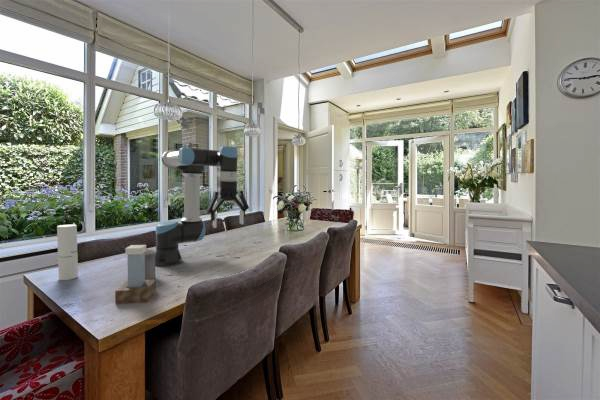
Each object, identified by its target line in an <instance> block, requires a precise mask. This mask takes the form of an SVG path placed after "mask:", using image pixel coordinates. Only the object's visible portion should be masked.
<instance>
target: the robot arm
mask: <svg viewBox="0 0 600 400" xmlns="http://www.w3.org/2000/svg"><path fill="white" fill-rule="evenodd" d="M161 163H162V164H163V165H164V166H165V167H166V168H168V169H170V170H174V171H181V175H182V176H183V177H184V180H183V182H184V189H183V190H184V191H183V192H184V193H183V194H184V196H183V198H184V199H183V213H184V214H183V215H184V216H183V218H181V221H180V222H179V221H178V220H169V221H163V222H160V223H158V224H157V225H156V226H155V267H171V266H175V265H178V264H181V263H182V262H183V261H182V260H183V258H182V255H181V252H180V250H179V244H184V243H191V242H192V243H196V242H198V241H202V240H203V239H204V238H205V235H206V231H207V230H206V229H207V227H206V224H205V222H204V221H203V219H202V218H201V216H200V213H201V212H200V207H201V206H200V204H201V202H200V200H201V199H200V197H201V196H200V193H201V187H200V186H201V177H202V176H203V174H204V173H203V172H205V171H206V169H207V166H208V167H219V168H220V172H219V173H220V174H219V175H220V176H219V177H220V178H219V179H220V182H219V189H220V190H219V191H216V190H214V191H213V193H212V198H211V200H210V202H209V204H208V205H207V208H206V212H207V213H210V220H211V221H212V227H213V229H217V227H218V225H217V224H218V223H217V221H218V220H217V217H218V215H217V213H216V212H217V211H218V210H219V209H220V208H221V206H222V204H223V203H224V202H225V201H226V202H229V201H231V202H232V201H234V203H235V204H236V205H237V207H239V225H240V224H241V225H244V222H245V221H244V218H245V217H246V211H247V210H249V209H250V207H249V205H248V202H247V200H246V198H245V195H244V191H243V190H241V189H239V190H237V189H238V181H237V180H238V148H237V147H235V146H220V150H215V149H206V148H205V149H202V148H201V149H200V148H193V147H181V148H179V149H169V150H166V151H164V152H163V154H162V155H161ZM219 196H220V197H219ZM237 196H239V198H240V200H239V198H238V197H237ZM218 197H219V199H218ZM217 200H218V201H217Z"/></svg>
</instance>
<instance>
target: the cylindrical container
mask: <svg viewBox="0 0 600 400" xmlns="http://www.w3.org/2000/svg"><path fill="white" fill-rule="evenodd" d="M77 230H78V226H77V224H60V225H59V224H58V225H57V226H56V231H57V232H56V233H57V237H56V238H57V260H58V261H57V263H58V267H57V269H58V280H60V281H68V280H73V279H76V278H78V277H79V266H78V265H79V264H78V263H79V262H78V255H79V254H78V231H77Z"/></svg>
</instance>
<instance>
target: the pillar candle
mask: <svg viewBox="0 0 600 400" xmlns="http://www.w3.org/2000/svg"><path fill="white" fill-rule="evenodd" d="M155 252H156V250H154V249H146V251H145V280H156V266H155Z"/></svg>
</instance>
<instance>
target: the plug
mask: <svg viewBox="0 0 600 400" xmlns="http://www.w3.org/2000/svg"><path fill="white" fill-rule="evenodd" d="M146 250H147V244H130V245H129V246H127V247H125V252H124V253H125V255H126V256H127V281H128V288H135V287H143V286H144V285H145V251H146Z"/></svg>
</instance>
